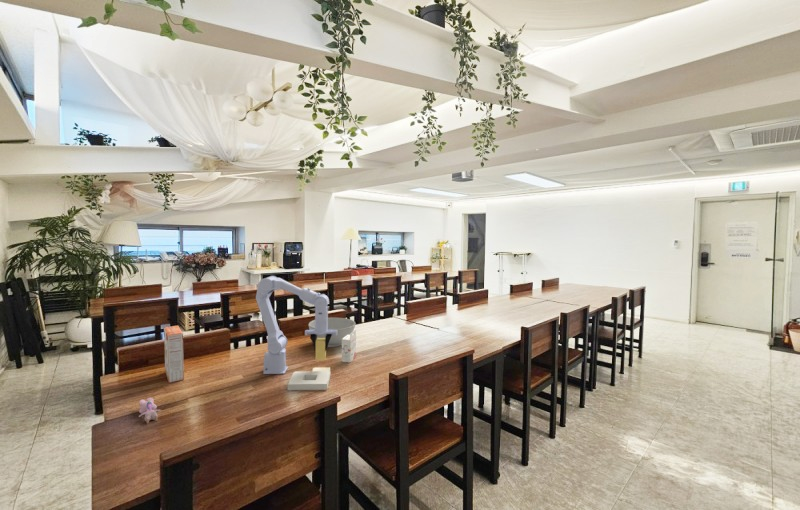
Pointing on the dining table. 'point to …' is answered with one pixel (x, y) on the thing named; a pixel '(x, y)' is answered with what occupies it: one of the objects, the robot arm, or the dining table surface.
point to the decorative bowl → (338, 324)
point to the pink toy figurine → (148, 409)
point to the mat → (322, 369)
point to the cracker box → (173, 353)
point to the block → (320, 349)
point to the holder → (309, 380)
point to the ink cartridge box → (349, 347)
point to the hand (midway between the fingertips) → (321, 350)
